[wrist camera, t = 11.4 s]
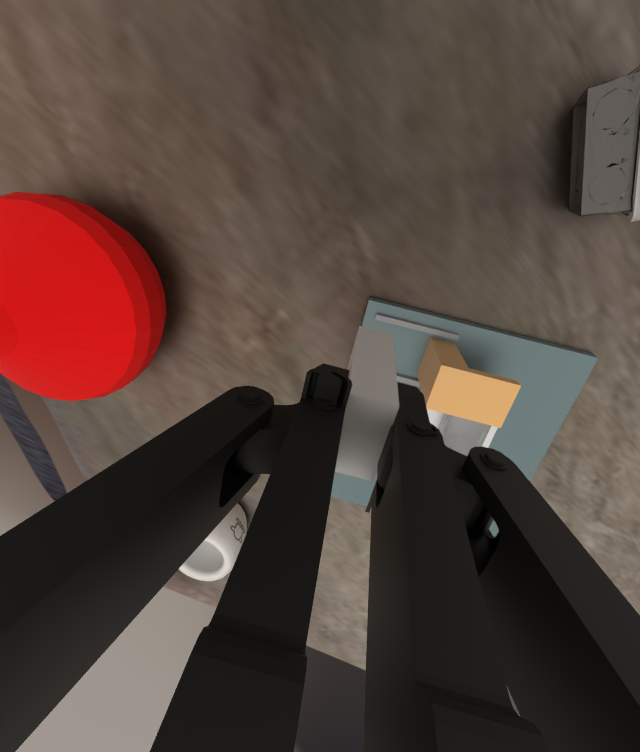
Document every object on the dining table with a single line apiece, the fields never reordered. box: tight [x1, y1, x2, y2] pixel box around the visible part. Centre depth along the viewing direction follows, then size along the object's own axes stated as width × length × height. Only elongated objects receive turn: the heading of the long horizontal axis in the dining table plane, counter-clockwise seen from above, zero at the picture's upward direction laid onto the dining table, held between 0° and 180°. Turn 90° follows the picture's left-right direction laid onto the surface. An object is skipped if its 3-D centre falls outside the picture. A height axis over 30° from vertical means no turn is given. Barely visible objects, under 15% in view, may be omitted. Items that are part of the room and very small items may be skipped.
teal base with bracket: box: [331, 297, 598, 537], centre depth 39 cm, size 24×22×9 cm
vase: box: [0, 192, 166, 401], centre depth 34 cm, size 18×18×19 cm
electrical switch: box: [569, 65, 640, 222], centre depth 28 cm, size 9×5×9 cm, turn 10°
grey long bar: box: [441, 414, 487, 456], centre depth 37 cm, size 19×3×1 cm, turn 167°
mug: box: [179, 503, 247, 581], centre depth 48 cm, size 12×8×8 cm
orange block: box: [417, 337, 521, 428], centre depth 35 cm, size 4×6×8 cm, turn 77°
